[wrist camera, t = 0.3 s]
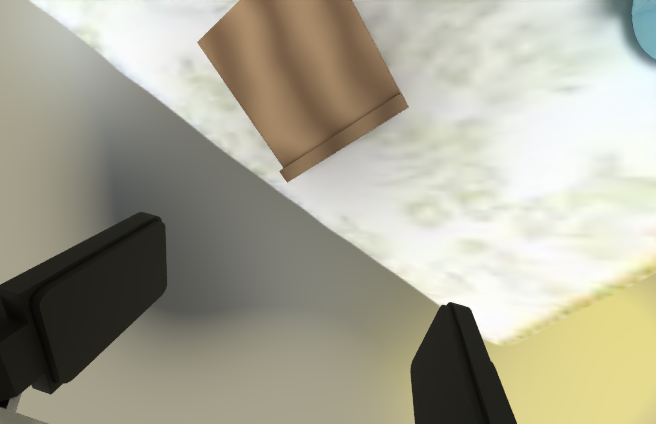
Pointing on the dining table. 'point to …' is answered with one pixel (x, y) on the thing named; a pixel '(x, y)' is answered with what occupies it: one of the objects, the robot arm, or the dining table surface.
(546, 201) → the dining table surface
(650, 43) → the teapot
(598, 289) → the dining table surface
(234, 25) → the shelf
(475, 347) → the robot arm
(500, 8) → the dining table surface
